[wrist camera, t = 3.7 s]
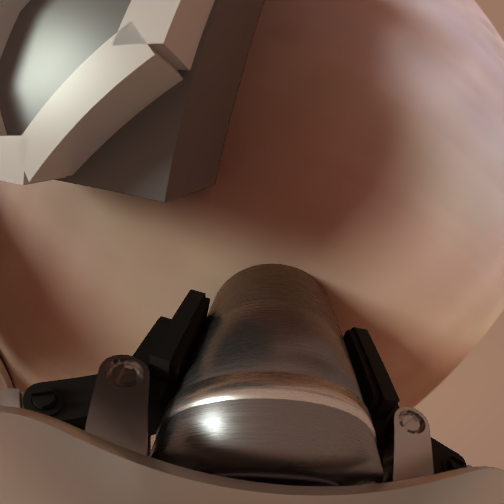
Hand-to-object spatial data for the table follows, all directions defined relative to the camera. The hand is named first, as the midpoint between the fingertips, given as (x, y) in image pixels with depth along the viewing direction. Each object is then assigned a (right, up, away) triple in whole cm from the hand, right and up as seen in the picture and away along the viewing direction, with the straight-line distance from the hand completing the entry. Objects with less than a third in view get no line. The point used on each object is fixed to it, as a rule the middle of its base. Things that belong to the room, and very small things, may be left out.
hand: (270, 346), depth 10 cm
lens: (0, +1, +2) cm, 2 cm away
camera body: (-5, +13, -2) cm, 14 cm away
